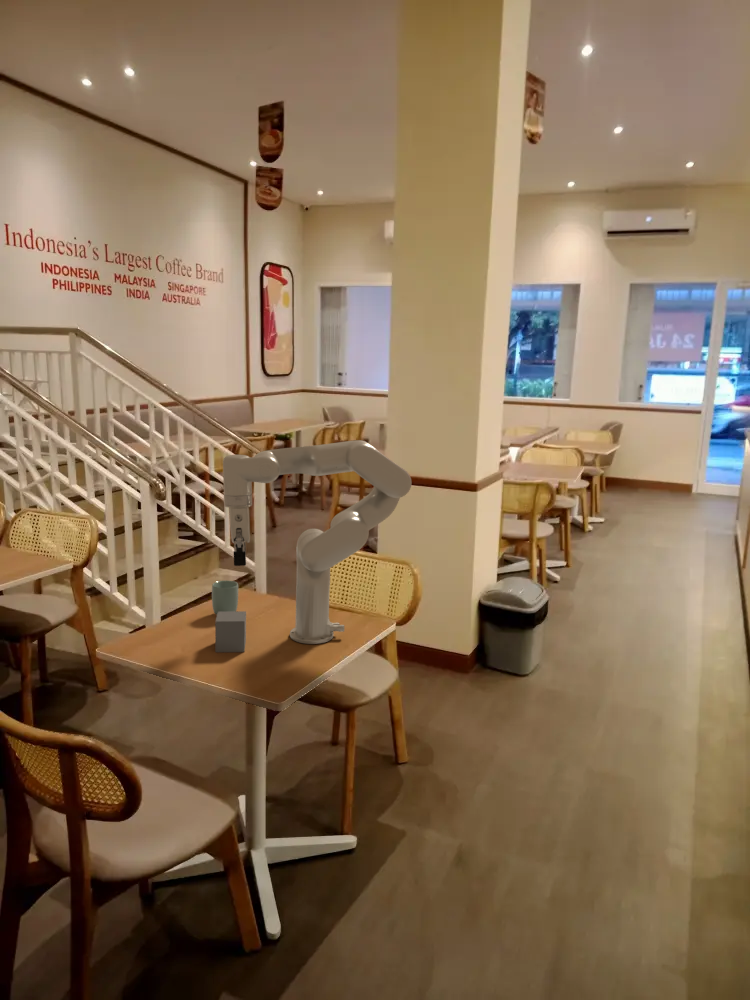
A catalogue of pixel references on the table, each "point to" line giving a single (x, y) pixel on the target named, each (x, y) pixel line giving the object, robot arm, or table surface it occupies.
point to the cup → (224, 596)
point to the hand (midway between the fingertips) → (240, 560)
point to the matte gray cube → (230, 631)
